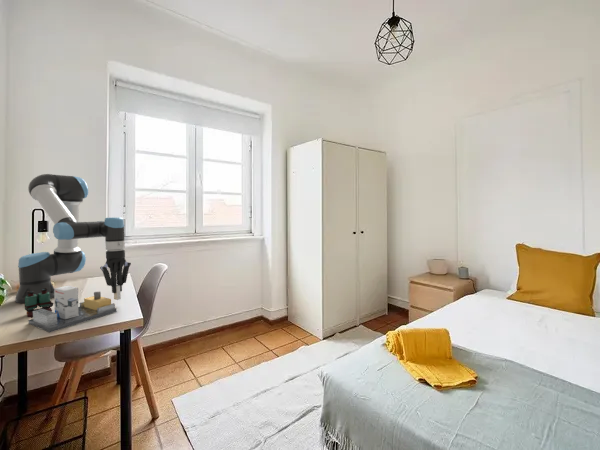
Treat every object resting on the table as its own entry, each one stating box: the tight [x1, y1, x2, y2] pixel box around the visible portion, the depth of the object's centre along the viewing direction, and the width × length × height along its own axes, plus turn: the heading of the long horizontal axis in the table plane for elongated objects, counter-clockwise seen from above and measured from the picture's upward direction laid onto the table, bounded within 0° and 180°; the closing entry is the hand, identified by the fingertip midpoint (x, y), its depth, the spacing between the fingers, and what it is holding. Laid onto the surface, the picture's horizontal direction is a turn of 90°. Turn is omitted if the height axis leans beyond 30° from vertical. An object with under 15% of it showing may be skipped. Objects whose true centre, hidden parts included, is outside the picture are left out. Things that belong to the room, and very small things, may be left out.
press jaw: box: [83, 290, 112, 310], centre depth 123 cm, size 12×5×7 cm, turn 63°
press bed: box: [27, 301, 117, 333], centre depth 116 cm, size 18×24×6 cm
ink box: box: [53, 285, 79, 319], centre depth 113 cm, size 9×5×12 cm, turn 65°
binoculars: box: [24, 288, 55, 318], centre depth 120 cm, size 9×11×10 cm
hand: (117, 299), depth 131 cm, fingers closed
